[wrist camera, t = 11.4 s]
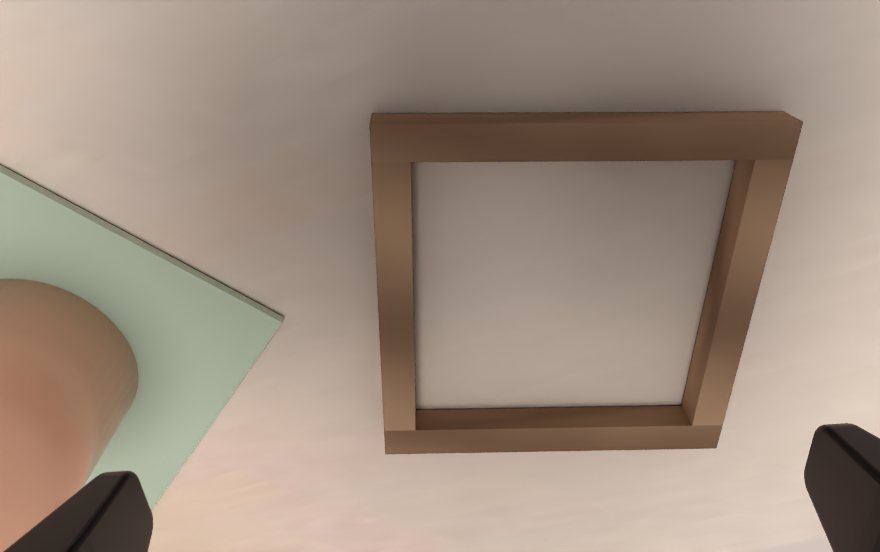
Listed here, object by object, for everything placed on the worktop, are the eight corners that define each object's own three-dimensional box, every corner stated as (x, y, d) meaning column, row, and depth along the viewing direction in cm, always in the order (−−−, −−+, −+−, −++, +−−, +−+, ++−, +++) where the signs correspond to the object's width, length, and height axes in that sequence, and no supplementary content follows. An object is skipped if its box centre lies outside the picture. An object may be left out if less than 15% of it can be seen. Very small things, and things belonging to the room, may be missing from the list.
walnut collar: (371, 113, 18) (369, 124, 17) (784, 111, 18) (803, 121, 17) (386, 433, 23) (385, 454, 22) (705, 427, 23) (716, 448, 22)
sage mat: (-94, 114, 17) (-102, 117, 17) (284, 317, 21) (282, 322, 20) (-188, 394, 21) (-196, 400, 21) (138, 526, 25) (135, 533, 24)
